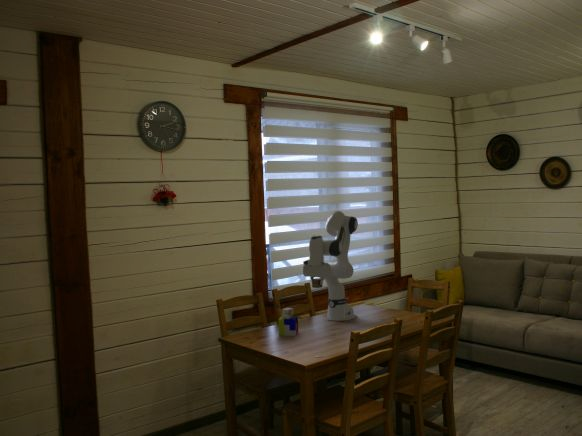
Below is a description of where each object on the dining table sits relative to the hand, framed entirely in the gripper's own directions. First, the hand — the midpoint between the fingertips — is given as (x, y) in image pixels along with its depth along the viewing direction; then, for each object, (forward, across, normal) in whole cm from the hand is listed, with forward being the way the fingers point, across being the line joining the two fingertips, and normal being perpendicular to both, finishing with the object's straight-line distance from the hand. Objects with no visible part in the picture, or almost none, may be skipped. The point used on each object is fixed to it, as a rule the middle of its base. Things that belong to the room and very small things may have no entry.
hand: (317, 284), depth 320 cm
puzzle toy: (+30, +13, +13) cm, 35 cm away
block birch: (+20, +13, +13) cm, 27 cm away
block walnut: (+2, 0, 0) cm, 2 cm away
